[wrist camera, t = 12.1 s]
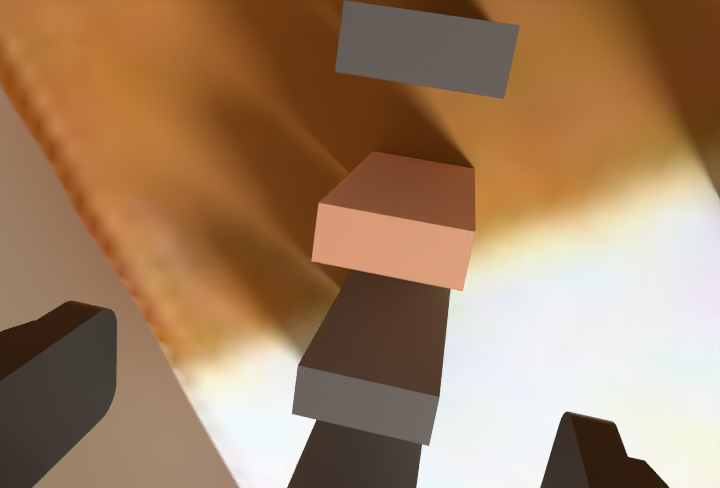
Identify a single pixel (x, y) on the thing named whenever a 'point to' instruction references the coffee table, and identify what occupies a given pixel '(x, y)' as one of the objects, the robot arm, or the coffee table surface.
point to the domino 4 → (355, 460)
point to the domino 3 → (377, 358)
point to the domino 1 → (426, 48)
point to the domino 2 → (400, 220)
